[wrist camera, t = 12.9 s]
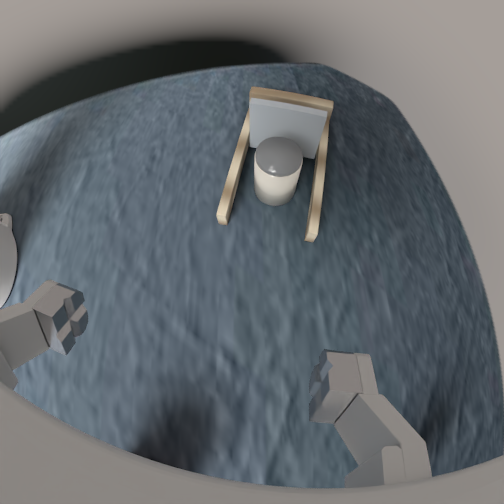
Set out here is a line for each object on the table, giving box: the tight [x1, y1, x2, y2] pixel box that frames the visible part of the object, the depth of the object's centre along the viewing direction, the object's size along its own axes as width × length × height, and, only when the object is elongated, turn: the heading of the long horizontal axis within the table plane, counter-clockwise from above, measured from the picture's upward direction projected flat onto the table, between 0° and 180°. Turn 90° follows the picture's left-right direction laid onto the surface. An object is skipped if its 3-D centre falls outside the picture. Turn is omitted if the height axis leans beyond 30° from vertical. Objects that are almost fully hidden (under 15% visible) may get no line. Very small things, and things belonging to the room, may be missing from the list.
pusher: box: [249, 98, 327, 159], centre depth 32 cm, size 1×8×8 cm, turn 79°
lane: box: [217, 87, 333, 242], centre depth 33 cm, size 18×11×5 cm, turn 168°
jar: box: [254, 137, 303, 206], centre depth 32 cm, size 5×5×7 cm
